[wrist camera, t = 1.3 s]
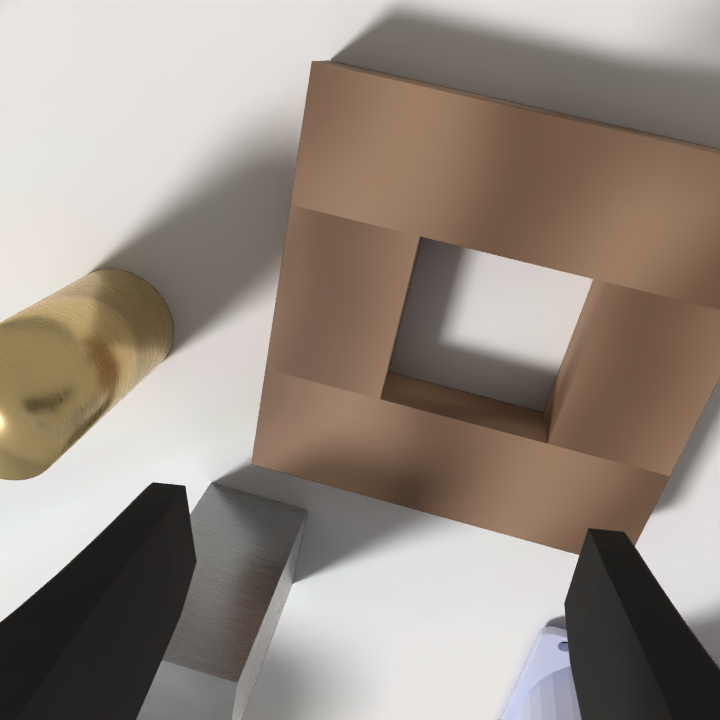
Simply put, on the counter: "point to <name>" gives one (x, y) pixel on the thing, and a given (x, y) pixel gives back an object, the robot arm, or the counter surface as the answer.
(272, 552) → the square bit
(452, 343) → the counter surface
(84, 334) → the round bit
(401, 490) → the frame
